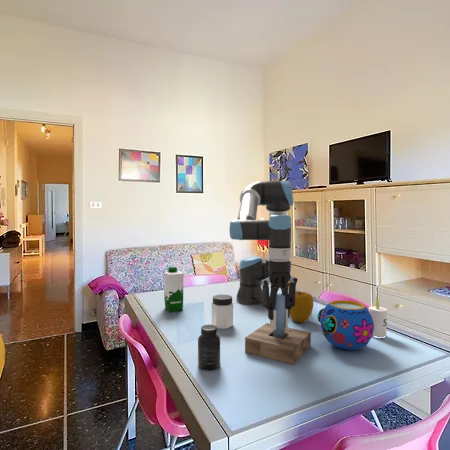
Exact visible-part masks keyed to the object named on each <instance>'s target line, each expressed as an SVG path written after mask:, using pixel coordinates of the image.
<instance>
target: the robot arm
mask: <svg viewBox="0 0 450 450" xmlns="http://www.w3.org/2000/svg"><path fill="white" fill-rule="evenodd" d="M239 202H240V203H239V204H240V205H239V209H238V210H239V211H238V214H237V219H233V220H230V222H229V237H230V239H231V240H236V241H237V240H238V241H268V254H267V255H266V257H265V259H263V257H262V256H250V257H245V258H242V259H241V260H240V263H239V286H238V287H239V288H238V290H237V294H236V299H235V300H236V302H237V303H239V304H243V305H260V304H262V307H263V308H264V309H266V310H267V311H268V312H267V314H268V315H267V318H268V320H269V324H270V328H271V329H273V330H276V310H274V308H275V302H276V297H277V294H278V292H279V290H280V291H281V294H284V295H285V328H288V327H289V322H288V321H289V318H290V317H291V316H290V309H292V306H295V293H296V292H297V290H296V289H297V288H296V287H297V283H298V278H297V277H296V276H295V277H294V276H292V275H291V272H292V271H291V269H292V261H291V257H292V245H291V243H292V225H293V224H292V217H291V215H289V214H288V212H289V211H290V210H291V207H292V206H294V196H293V188H292V183H291V181H288V180H287V181H285V180H269V181H268V180H267V181H265V180H264V181H262V180H258V181H255V182H252V183H250V184H249V185H247V186H246V187H245V188H244V189H243V190H242V191H241V193H240V196H239ZM258 206H265V209H266V210H267V211H268V217H269V218H268V219H267V220H266V219H257V215H258V214H257V213H258Z"/></svg>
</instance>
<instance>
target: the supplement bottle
mask: <svg viewBox="0 0 450 450" xmlns="http://www.w3.org/2000/svg"><path fill="white" fill-rule="evenodd" d="M200 329H201V330H200V335H199V337H198V338H197V364H198V365H197V366H198V367H199V369H201V370H204V371H214V370H217V369H218V368H219V367H220V365H221V338H220V336H219V335H218V328H217V327H216V326H215V325H212V324H204V325H202V326H201V328H200Z"/></svg>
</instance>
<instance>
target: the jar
mask: <svg viewBox="0 0 450 450" xmlns="http://www.w3.org/2000/svg"><path fill="white" fill-rule="evenodd" d="M211 325H215V326H216V327H217V329H220V330H221V329H222V330H223V329H225V330H227V329H229V328H230V327H233V326H234V303H233V296H232V295H231V294H216V295H213V296H212V302H211Z"/></svg>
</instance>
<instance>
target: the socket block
mask: <svg viewBox="0 0 450 450" xmlns="http://www.w3.org/2000/svg"><path fill="white" fill-rule="evenodd" d="M311 339H312V332H311V331H308V330H302V329H298V328H293V327H289V326H288V328H285V338H284V339H281V338H276V337H273V329H271V328H270V322H269V323H268V322H266V323H265V324H263V325H262V326H260V327H259V328H258V329H257V328H256V329H255V330H254V331H252V332H251V333H249V334H248V335H247V336H245V338H244V352H245V353H247V354H251V355H255V356H258V357H262V358H264V359H265V358H266V359H269V360H273V361H275V362H281V363H284V364H288V365H291V366H295V364H296V363H297V362H298V361H299V360H300V359H301V357H303V355H305V353H307V351H308V350H309V349H310V348H311V346H312V345H311V344H312V342H311V341H312V340H311ZM308 348H309V349H308ZM307 349H308V350H307ZM298 359H299V360H298ZM297 360H298V361H297ZM296 361H297V362H296Z"/></svg>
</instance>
